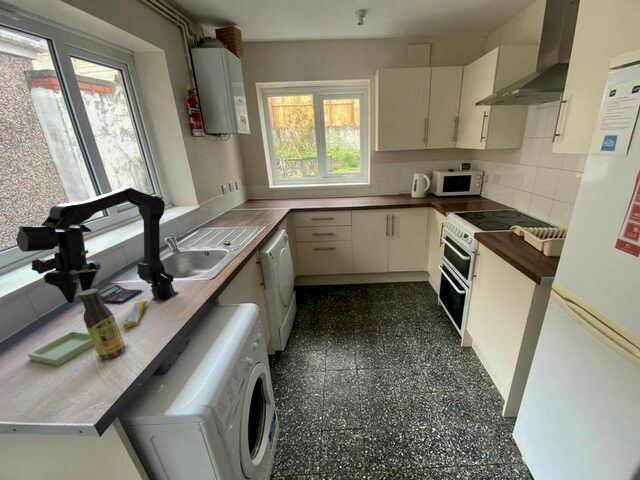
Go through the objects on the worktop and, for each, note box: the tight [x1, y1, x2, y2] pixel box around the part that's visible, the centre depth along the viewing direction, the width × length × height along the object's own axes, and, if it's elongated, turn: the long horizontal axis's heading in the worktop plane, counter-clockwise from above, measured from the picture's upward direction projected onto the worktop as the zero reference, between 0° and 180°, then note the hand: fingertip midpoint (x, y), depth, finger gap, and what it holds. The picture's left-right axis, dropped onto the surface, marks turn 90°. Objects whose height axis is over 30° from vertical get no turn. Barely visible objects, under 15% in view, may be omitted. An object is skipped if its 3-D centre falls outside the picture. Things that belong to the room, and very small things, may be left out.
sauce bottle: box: [78, 288, 126, 360], centre depth 79 cm, size 6×6×20 cm
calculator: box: [99, 284, 143, 304], centre depth 115 cm, size 9×12×3 cm
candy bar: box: [122, 300, 148, 329], centre depth 101 cm, size 17×4×2 cm, turn 23°
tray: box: [27, 330, 94, 367], centre depth 85 cm, size 12×12×2 cm
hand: (79, 298), depth 88 cm, fingers open, 9 cm apart
